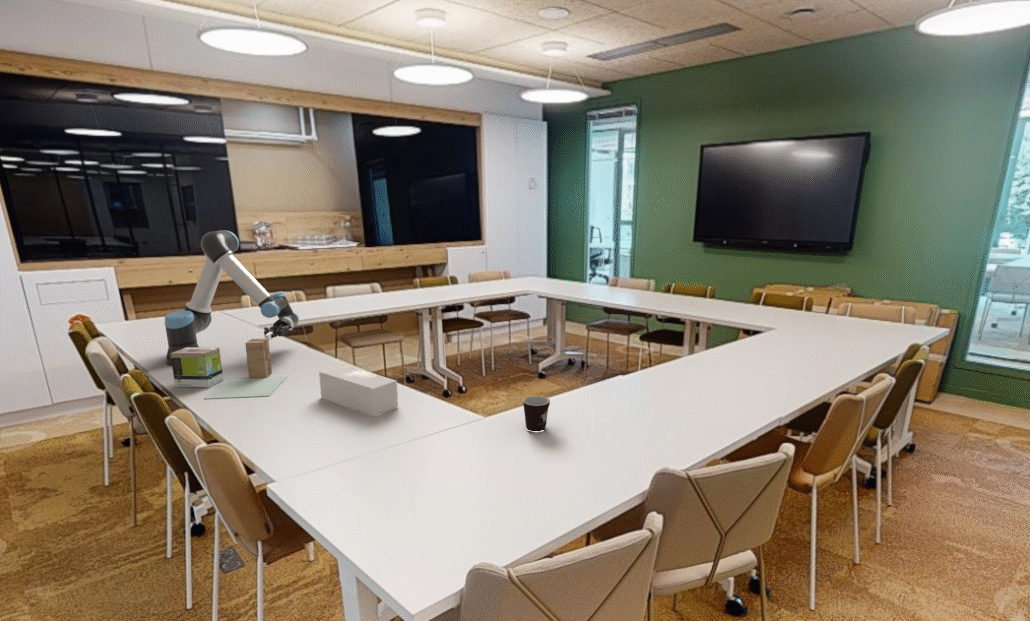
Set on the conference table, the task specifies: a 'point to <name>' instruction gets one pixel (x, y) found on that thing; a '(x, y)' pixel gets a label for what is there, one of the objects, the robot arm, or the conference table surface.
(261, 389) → the mat
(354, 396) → the stack of papers
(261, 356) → the walnut block
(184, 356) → the tea box
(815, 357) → the conference table surface
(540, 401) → the coffee mug
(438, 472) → the conference table surface
